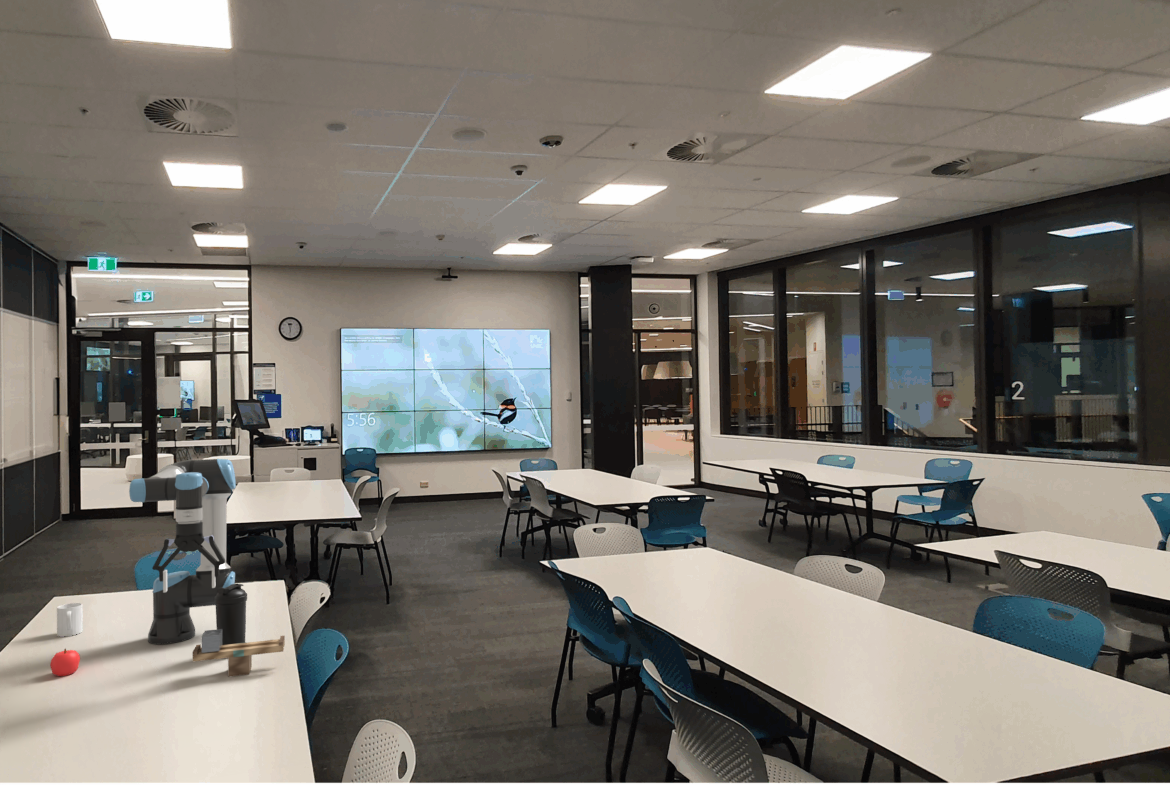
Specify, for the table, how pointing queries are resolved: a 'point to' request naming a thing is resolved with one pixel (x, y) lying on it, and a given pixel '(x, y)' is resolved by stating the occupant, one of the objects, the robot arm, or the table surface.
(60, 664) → the apple
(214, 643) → the block
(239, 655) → the beam
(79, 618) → the mug
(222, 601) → the water bottle
